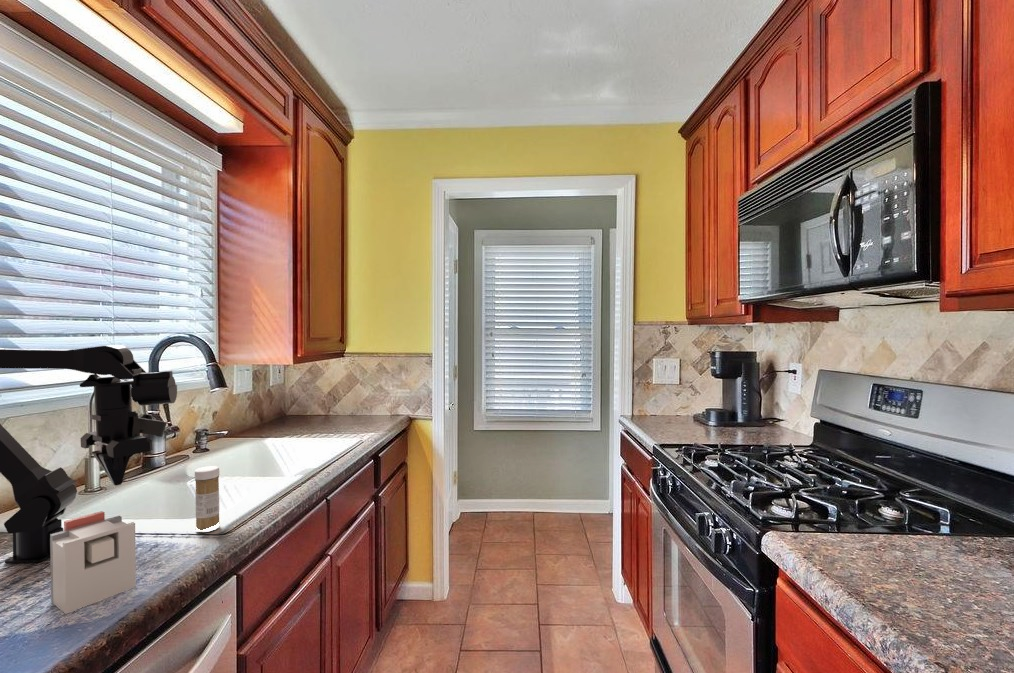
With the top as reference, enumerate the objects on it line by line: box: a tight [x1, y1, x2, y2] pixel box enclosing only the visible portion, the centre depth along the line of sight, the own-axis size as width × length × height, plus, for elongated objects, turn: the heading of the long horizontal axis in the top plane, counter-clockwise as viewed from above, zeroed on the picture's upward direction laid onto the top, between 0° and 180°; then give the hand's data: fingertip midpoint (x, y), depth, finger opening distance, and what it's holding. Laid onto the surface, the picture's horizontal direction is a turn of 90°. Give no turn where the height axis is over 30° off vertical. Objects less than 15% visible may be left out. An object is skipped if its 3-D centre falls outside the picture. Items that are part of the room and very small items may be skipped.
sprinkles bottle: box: [194, 465, 220, 530], centre depth 103 cm, size 5×5×14 cm
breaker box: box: [50, 515, 137, 615], centre depth 78 cm, size 6×9×11 cm
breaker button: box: [63, 510, 114, 563], centre depth 78 cm, size 8×5×6 cm, turn 59°
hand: (117, 484), depth 95 cm, fingers closed
